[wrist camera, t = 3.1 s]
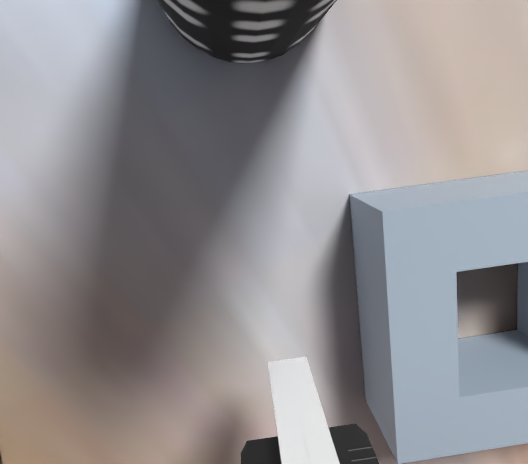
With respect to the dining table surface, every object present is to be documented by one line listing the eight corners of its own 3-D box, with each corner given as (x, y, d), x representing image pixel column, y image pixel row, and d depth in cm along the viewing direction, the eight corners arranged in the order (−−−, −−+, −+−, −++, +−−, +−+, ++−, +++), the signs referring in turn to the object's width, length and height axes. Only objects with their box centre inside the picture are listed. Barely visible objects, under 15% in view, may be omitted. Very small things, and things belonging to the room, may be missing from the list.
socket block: (365, 400, 25) (397, 464, 20) (349, 194, 23) (382, 211, 18) (566, 369, 26) (643, 424, 21) (574, 164, 23) (666, 173, 18)
